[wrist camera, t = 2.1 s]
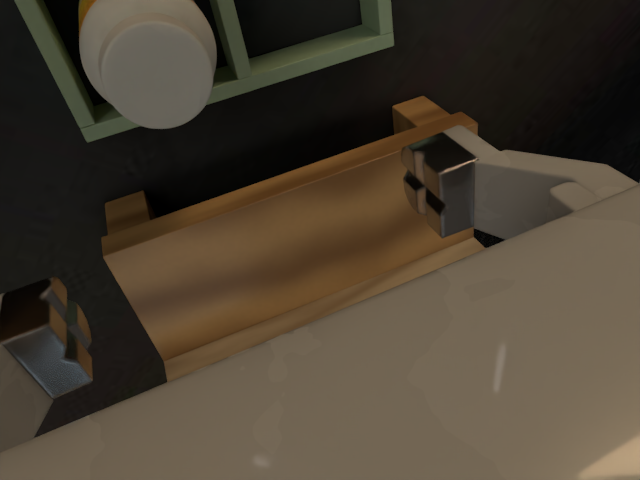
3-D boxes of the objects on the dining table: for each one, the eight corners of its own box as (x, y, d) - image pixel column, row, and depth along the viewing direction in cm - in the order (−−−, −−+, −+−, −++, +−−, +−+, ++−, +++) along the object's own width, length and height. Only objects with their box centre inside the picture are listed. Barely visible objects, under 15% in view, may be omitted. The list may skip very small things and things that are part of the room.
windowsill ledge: (97, 197, 31) (105, 286, 25) (425, 87, 35) (503, 140, 29) (157, 309, 37) (176, 402, 31) (429, 205, 41) (493, 270, 35)
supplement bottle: (176, -54, 25) (218, -14, 18) (200, 56, 29) (245, 128, 21) (59, -36, 24) (55, 15, 17) (99, 78, 27) (110, 161, 20)
